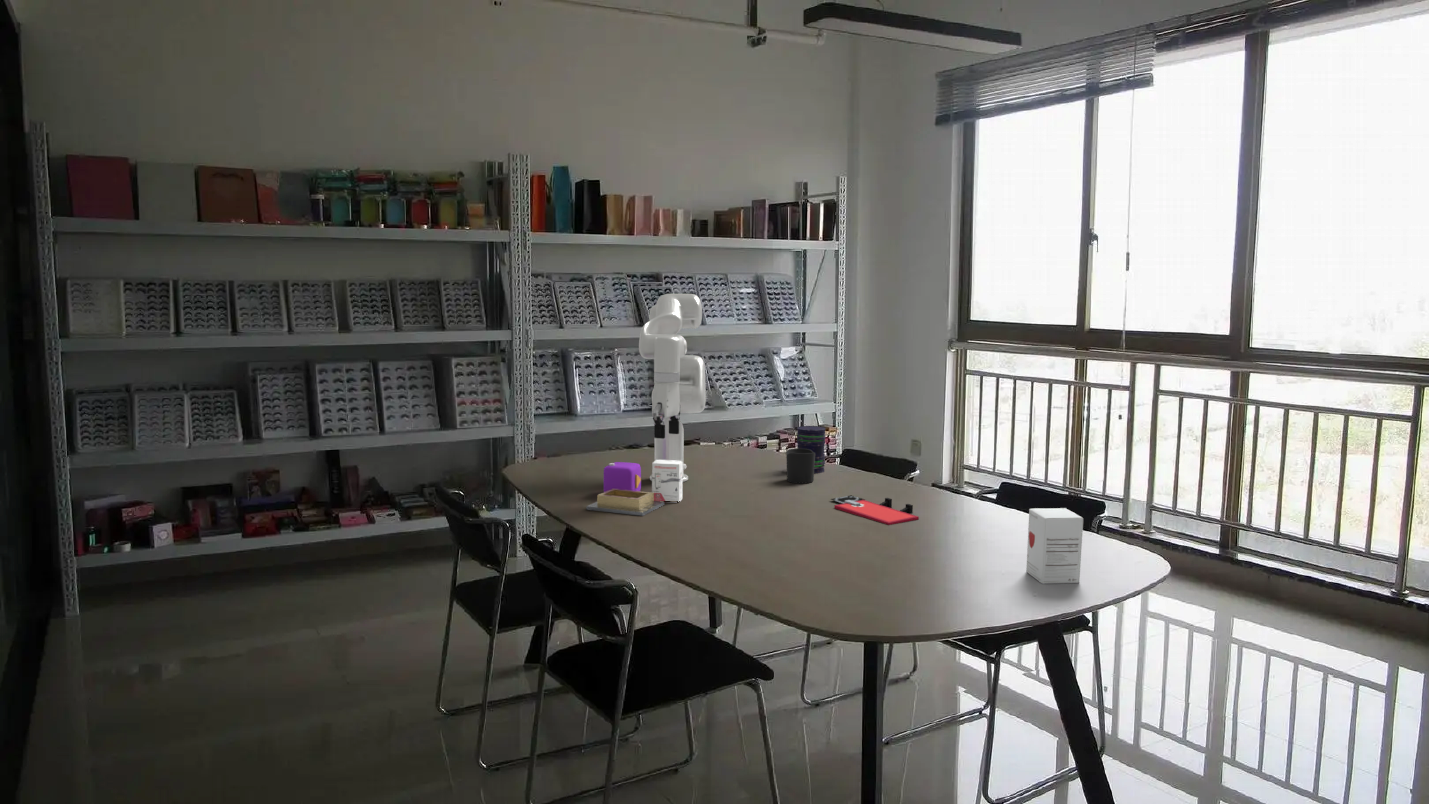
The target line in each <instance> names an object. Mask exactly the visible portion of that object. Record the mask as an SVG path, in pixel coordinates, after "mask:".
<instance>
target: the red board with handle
mask: <svg viewBox="0 0 1429 804" xmlns="http://www.w3.org/2000/svg"><path fill="white" fill-rule="evenodd" d="M830 500H831V501H835V502H838V503H839V504H836V505H834V507H833V508H834V509H836V510H838V511H843V512H845V513H848V514H853V515H855V516H859V517H861V518H864V519H868V520H872V521H875V522H878V523H881V524H884V525H888V526H891V525H896V524H902V523H906V522H907V523H908V522H912V521H917V520H919V519H920V517H919V516H917V515H914V514H913V513H914V511H913V507H914V506H913V505H914V504H910V503H905V507H904V508H902V509H900V510H898V509H895V508H892V505H893V503H892V502H893V499H892V498H890V497H885V498H884V501H883V502H880V503H879V504H878V503H875V502H872V501H868V500H867V499H864V498H862V497H858V496H854V495H846V496H841V497H835V498H831V499H830Z"/></svg>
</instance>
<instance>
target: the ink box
mask: <svg viewBox="0 0 1429 804" xmlns="http://www.w3.org/2000/svg"><path fill="white" fill-rule="evenodd" d="M651 470H652V471H651V475H652V481H651V492H652V493H654V501H678V502H679V501H680V502H681V501H682V500H683V486H684V485H683V483H684V482H683V462H682V461H677V460H655V459H654V461H652V463H651ZM680 502H679V503H680Z"/></svg>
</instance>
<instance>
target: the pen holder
mask: <svg viewBox="0 0 1429 804" xmlns="http://www.w3.org/2000/svg"><path fill="white" fill-rule="evenodd" d="M785 456H786V480H787V482H788V483H792V484H802V485H803V484H810V483H813V482H814V479H815V473H814V467H815V453H814V452H813V451H812V450H809V449H798V448H789V449H787V450H786V453H785Z"/></svg>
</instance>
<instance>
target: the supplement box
mask: <svg viewBox="0 0 1429 804" xmlns="http://www.w3.org/2000/svg"><path fill="white" fill-rule="evenodd" d="M1028 511H1029V512H1028V528H1027V529H1028V531H1027V547H1026V548H1027V552H1026V553H1027V554H1026V567H1025V568H1026V569H1025V570H1026V571H1025V572H1026V573H1028V574H1029V575H1030V576H1032V577H1033V578H1034V579H1036V580H1037V581H1038V582H1039V583H1040V584H1042V585H1043V584H1045V585H1046V584H1049V585H1050V584H1080V581H1081V580H1080V577H1081V561H1082V546H1083V544H1082V543H1083V532H1084V529H1083V528H1084V518H1083V517H1082V516H1080V515H1079V514H1077V513H1075V512H1073V511H1071V510H1070V509H1067V507H1060V508H1058V507H1057V508H1054V507H1053V508H1051V507H1050V508H1044V507H1043V508H1038V507H1037V508H1036V507H1035V508H1029V509H1028Z"/></svg>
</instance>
